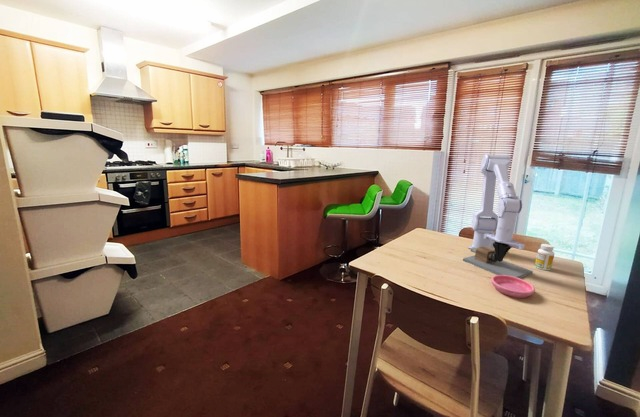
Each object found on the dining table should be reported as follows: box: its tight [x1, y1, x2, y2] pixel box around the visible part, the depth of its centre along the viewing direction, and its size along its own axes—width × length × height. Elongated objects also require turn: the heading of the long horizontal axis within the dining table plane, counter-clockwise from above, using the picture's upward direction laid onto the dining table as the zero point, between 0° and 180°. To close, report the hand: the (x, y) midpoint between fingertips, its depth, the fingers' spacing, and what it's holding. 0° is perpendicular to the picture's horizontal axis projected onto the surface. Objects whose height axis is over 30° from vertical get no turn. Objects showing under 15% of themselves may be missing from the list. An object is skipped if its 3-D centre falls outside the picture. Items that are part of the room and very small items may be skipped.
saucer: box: [490, 274, 536, 299], centre depth 98 cm, size 12×12×3 cm
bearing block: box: [474, 246, 496, 263], centre depth 121 cm, size 6×5×5 cm
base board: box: [462, 254, 534, 279], centre depth 117 cm, size 14×20×1 cm
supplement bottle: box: [534, 243, 555, 271], centre depth 116 cm, size 5×5×10 cm
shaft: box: [470, 247, 497, 262], centre depth 121 cm, size 4×10×4 cm, turn 29°
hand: (499, 260), depth 116 cm, fingers closed
